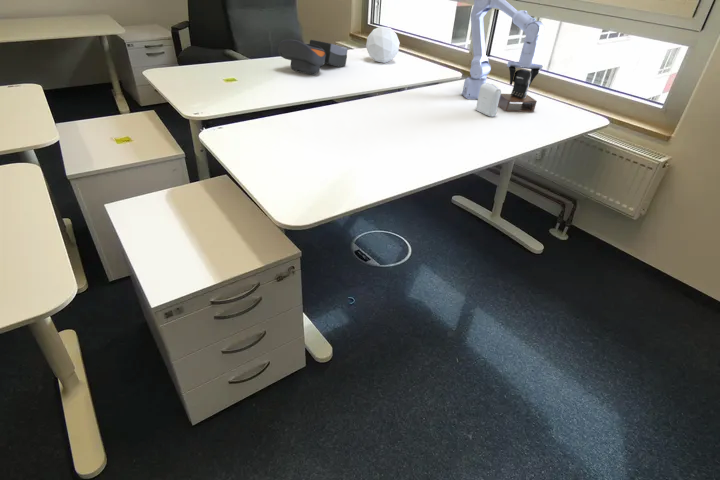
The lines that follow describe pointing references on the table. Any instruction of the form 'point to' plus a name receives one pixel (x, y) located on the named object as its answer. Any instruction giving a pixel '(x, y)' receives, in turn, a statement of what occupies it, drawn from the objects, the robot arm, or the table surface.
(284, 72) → the table surface
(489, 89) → the photo printer
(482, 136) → the table surface
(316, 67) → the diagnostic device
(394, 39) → the geometric orb
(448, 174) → the table surface
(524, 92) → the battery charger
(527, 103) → the shelf
